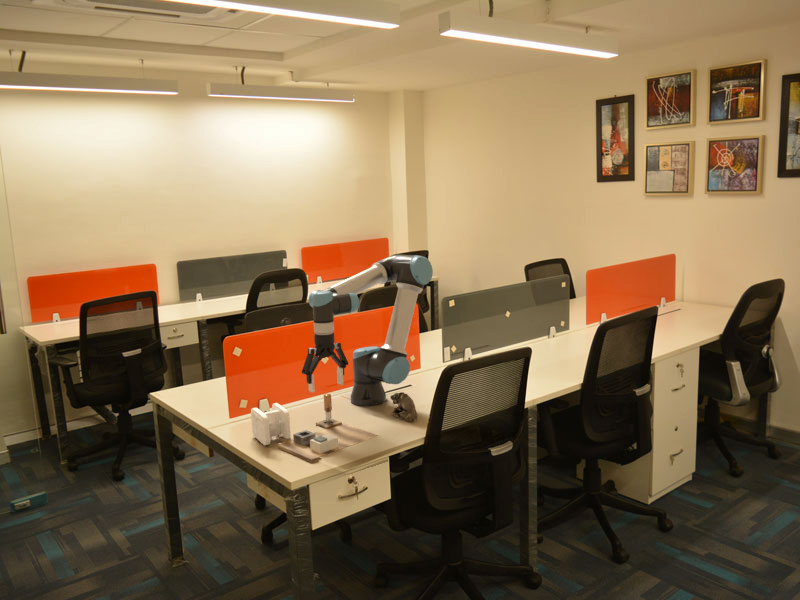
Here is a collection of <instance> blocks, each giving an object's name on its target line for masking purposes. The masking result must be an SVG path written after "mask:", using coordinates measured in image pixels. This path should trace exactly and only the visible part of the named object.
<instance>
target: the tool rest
mask: <svg viewBox="0 0 800 600" xmlns="http://www.w3.org/2000/svg"><path fill="white" fill-rule="evenodd" d="M331 419H332V423H331V424H326V419H324V420H320V421H317V422H316V423H315V427H321V428H323V429H329V428H332V427H335V426H338V425H341V424H343V422H342V421H339V420H336V419H333V418H331Z"/></svg>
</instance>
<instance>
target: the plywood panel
mask: <svg viewBox="0 0 800 600" xmlns="http://www.w3.org/2000/svg"><path fill="white" fill-rule="evenodd" d="M326 434H330V435H333V436H335V437H338V447H337V448H335V449H332V450H329V451H326V452H323V453H317V452H315V451H313V450H310V440H311V439H313V438H315V437H318V436H323V435H326ZM292 436H293V438H292V439H291V440H288V441H285V442H282V443H279V444H277V448H278V449H279V450H282V451H284V452H286V453H289V454H291V455H293V456H296V457H298V458H300V459H301V460H304V461H306V462H309V463H310V464H312V463H316V462H318V461H321V460H323V458H321V457H324V456H325V455H326V456H327V455H328V454H331V453H334V452H337V451H340V450H343V449H345V448H348V447H351V446H353V445H356V444H359V443H361V442H365V441H367V440H370V439H373V438H376V437H379V434H375V433H372V432H370V431H367V430H365V429H362V428H359V427H356V426H353V425H351V424H347V423H346V422H342V424H341V425H338V426H335V427H332V428H329V429H325V428H323V429H322V430H318V431H315V432H312V431H311V430H310V431H309V430H307V429H305V430H302V431H299V432H296V433H293V434H292Z"/></svg>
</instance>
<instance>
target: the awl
mask: <svg viewBox="0 0 800 600" xmlns="http://www.w3.org/2000/svg"><path fill="white" fill-rule="evenodd" d="M332 404H333V403H332V393H325V394H323V407H324V409H323V410H324V411H325V414H324V415H325V420H326V424H331V423H332V419H333V418H332V411H333V409H332V408H333V406H332Z"/></svg>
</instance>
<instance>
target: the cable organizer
mask: <svg viewBox="0 0 800 600" xmlns="http://www.w3.org/2000/svg"><path fill="white" fill-rule="evenodd" d="M271 407H272V408H271V409H272V410H270V411H265V412H263V411H262V410H261V409H259V408H258V407H252V408H251V409H250V416H251V418H250V419H251V431H252V434H253V436H254V438H256V439H257V440H258V442H260V443H261V444H262V445H263V446H269V445H270V444H271V442H272V441H273V437H275V436H278V437H279V439H281V438H284V439H285V440H290V439H291V435H292V434H291V423H290V419H291V418H290V413H289V411H288V410H287V409H286V407H284V406H282V405H281V404H279V403H278V402H275V403H272V405H271Z"/></svg>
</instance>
